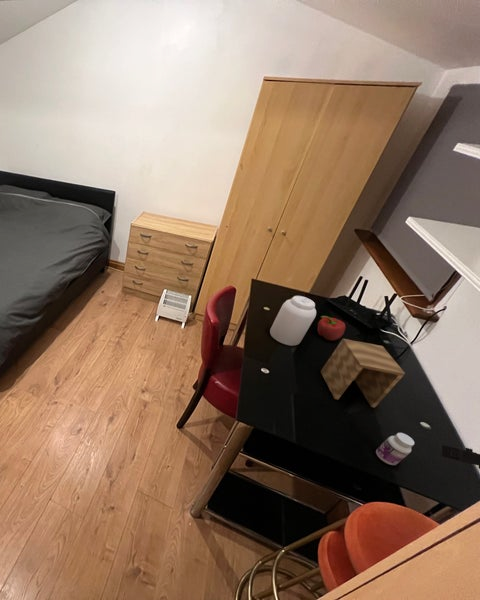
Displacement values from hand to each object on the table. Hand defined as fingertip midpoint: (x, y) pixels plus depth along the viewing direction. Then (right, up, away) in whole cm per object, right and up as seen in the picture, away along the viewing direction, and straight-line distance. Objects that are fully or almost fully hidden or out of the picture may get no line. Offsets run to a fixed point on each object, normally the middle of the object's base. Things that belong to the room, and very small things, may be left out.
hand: (445, 451), depth 81 cm
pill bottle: (+1, -10, +17) cm, 20 cm away
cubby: (+8, +5, +40) cm, 41 cm away
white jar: (0, +21, +64) cm, 67 cm away
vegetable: (+21, +21, +67) cm, 73 cm away
